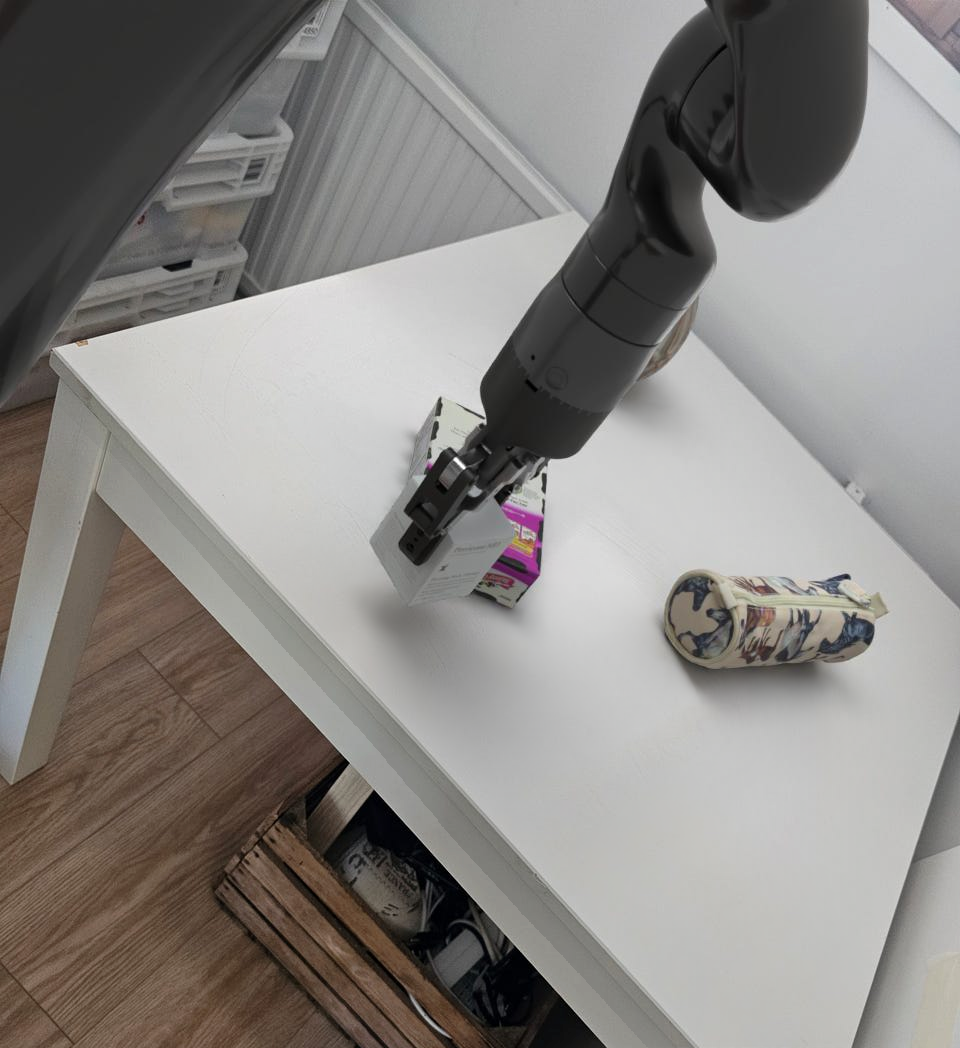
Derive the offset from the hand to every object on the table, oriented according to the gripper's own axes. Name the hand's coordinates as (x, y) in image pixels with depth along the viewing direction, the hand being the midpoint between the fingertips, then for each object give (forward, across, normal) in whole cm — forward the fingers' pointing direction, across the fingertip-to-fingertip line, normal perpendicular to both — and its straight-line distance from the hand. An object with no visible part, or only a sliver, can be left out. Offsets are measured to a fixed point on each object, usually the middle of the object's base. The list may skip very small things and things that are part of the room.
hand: (442, 535), depth 73 cm
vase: (+9, -49, -11) cm, 51 cm away
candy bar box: (+6, -6, +1) cm, 9 cm away
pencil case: (+9, -30, +22) cm, 38 cm away
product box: (+4, 0, 0) cm, 4 cm away
